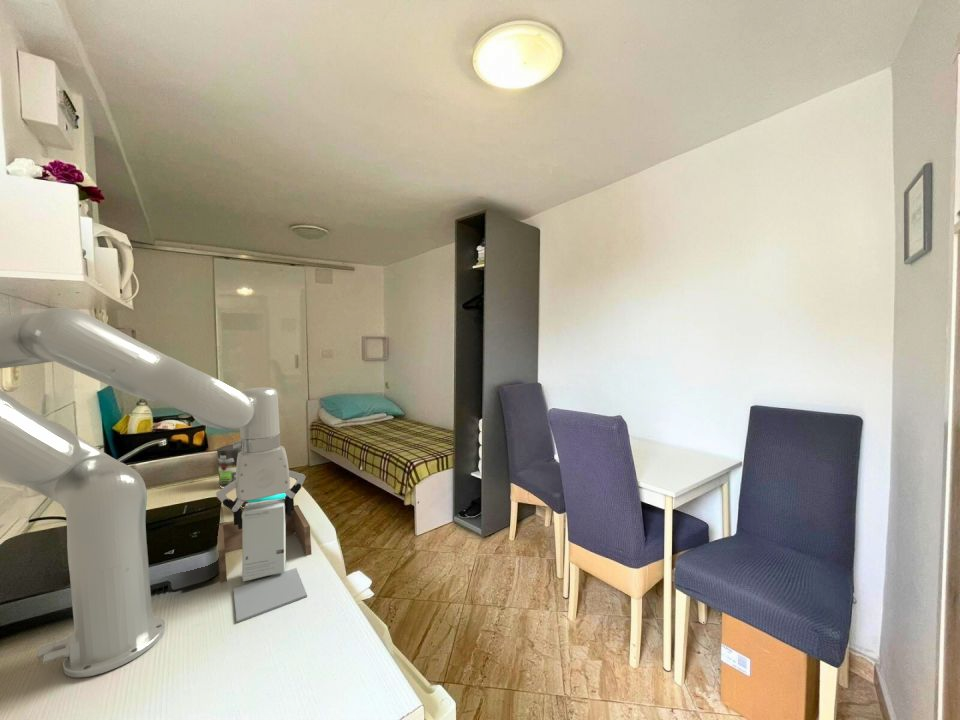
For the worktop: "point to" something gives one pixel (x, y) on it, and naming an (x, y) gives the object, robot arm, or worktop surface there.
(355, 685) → the worktop surface
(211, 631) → the worktop surface
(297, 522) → the wooden open bay
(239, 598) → the pad
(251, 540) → the skincare box
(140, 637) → the robot arm
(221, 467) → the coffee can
